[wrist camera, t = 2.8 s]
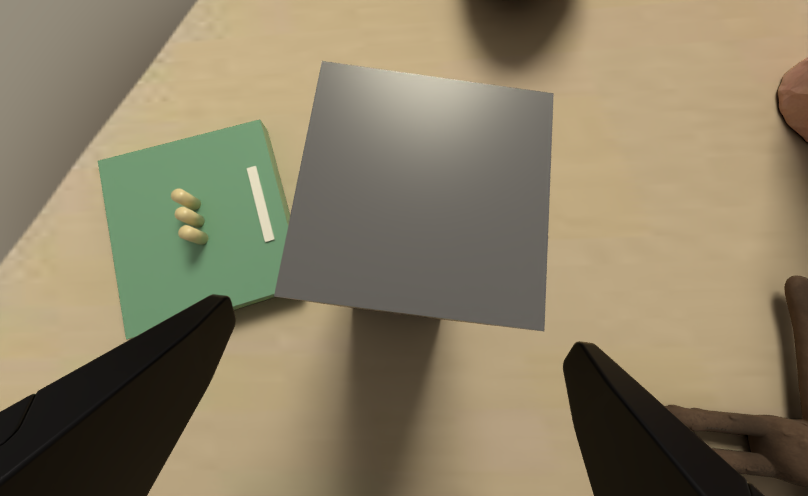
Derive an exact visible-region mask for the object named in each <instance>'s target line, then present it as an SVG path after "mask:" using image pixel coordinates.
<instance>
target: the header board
mask: <svg viewBox="0 0 808 496" xmlns="http://www.w3.org/2000/svg"><path fill="white" fill-rule="evenodd" d="M98 166H99V172H100V178H101V184H102V191H103V197H104V203H105V210H106V216H107V222H108V228H109V235H110V241H111V247H112V254H113V260H114V266H115V272H116V279H117V285H118V291H119V298H120V304H121V310H122V316H123V323H124V329H125V335H126V339H132V338H134V337H136V336H137V335H139V334H141V333H143V332H145V331H146V330H148V329H150V328H152V327H154V326H155V325H157V324H159V323H161V322H163V321H164V320H166V319H168V318H170V317H172V316H173V315H175V314H177V313H179V312H181V311H182V310H184V309H186V308H188V307H190V306H191V305H193V304H195V303H197V302H198V301H200V300H202V299H204V298H206V297H207V296H209V295H212V294H218V295H226V296H229V297H230V298H231V301H232V305H233V309H234V310H235V309H238V308H241V307H245V306H248V305H251V304H254V303H258V302H261V301H264V300H267V299H270V298H274V293H275V288H276V283H277V279H278V274H279V269H280V264H281V259H282V254H283V249H284V244H285V239H286V235H287V230H288V225H289V220H290V213H289V209H288V205H287V202H286V198H285V194H284V190H283V187H282V183H281V179H280V175H279V172H278V168H277V164H276V160H275V157H274V153H273V149H272V145H271V142H270V138H269V134H268V131H267V129H266V128H265V126H264V125H263V123H262V122H261V120H256V121H252V122H248V123H244V124H240V125H236V126H232V127H229V128H225V129H221V130H217V131H213V132H209V133H205V134H201V135H197V136H193V137H189V138H185V139H182V140H178V141H174V142H170V143H166V144H162V145H158V146H154V147H150V148H146V149H142V150H138V151H134V152H131V153H127V154H123V155H119V156H115V157H111V158H107V159H103V160H99V161H98Z"/></svg>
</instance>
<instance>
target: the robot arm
mask: <svg viewBox="0 0 808 496" xmlns="http://www.w3.org/2000/svg"><path fill="white" fill-rule="evenodd" d="M235 322H236V318H235V314H234V309H233V305H232V301H231V298H230V297H229V296H226V295H218V294H212V295H209V296H207V297H206V298H204V299H202V300H200V301H198V302H197V303H195V304H193V305H191V306H190V307H188V308H186V309H184V310H182V311H181V312H179V313H177V314H175V315H173V316H172V317H170V318H168V319H166V320H164V321H163V322H161V323H159V324H157V325H155V326H154V327H152V328H150V329H148V330H146V331H145V332H143V333H141V334H139V335H137V336H136V337H134V338H132V339H130V340H129V341H127V342H125V343H123V344H121V345H120V346H118V347H116V348H114V349H112V350H111V351H109V352H107V353H105V354H103V355H102V356H100V357H98V358H96V359H94V360H93V361H91V362H89V363H87V364H85V365H84V366H82V367H80V368H78V369H76V370H75V371H73V372H71V373H69V374H68V375H66V376H64V377H62V378H60V379H59V380H57V381H55V382H53V383H51V384H50V385H48V386H46V387H44V388H42V389H41V390H39V391H38V392H37V393H36V394H31V395H30V396H28V397H26V398H24V399H22V400H21V401H19V402H17V403H15V404H13V405H12V406H10V407H8V408H6V409H4V410H3V411H1V412H0V496H147V495H148V493H149V491H150V489H151V488H152V486H153V484H154V482H155V480H156V479H157V477H158V475H159V473H160V472H161V470H162V468H163V466H164V464H165V463H166V461H167V459H168V457H169V456H170V454H171V452H172V450H173V448H174V447H175V445H176V443H177V441H178V439H179V438H180V436H181V434H182V432H183V431H184V429H185V427H186V425H187V423H188V422H189V420H190V418H191V416H192V415H193V413H194V411H195V409H196V407H197V406H198V404H199V402H200V400H201V399H202V397H203V395H204V393H205V391H206V389H207V388H208V386H209V384H210V382H211V380H212V378H213V375H214V373H215V371H216V369H217V366H218V364H219V362H220V359H221V357H222V355H223V352H224V350H225V348H226V345H227V343H228V341H229V338H230V336H231V334H232V331H233V329H234V326H235ZM563 372H564V377H565V383H566V388H567V393H568V399H569V404H570V409H571V415H572V420H573V424H574V429H575V432H576V436H577V440H578V443H579V446H580V450H581V453H582V457H583V460H584V463H585V467H586V470H587V474H588V477H589V480H590V484H591V487H592V491H593V494H594V496H764V495H763V494H762V493H761V492H760V491H759V490H758V489H757V488H756V487H754V486H753V485H752V484H751V483H747V480H746V479H745V478H744V477H743V476H742V475H741V474H740V473H739V472H737V471H736V470H735V469H734V468H733V467H732V466H731V465H730V464H729V463H727V462H726V461H725V460H724V459H723V458H722V457H721V456H720V455H718V454H717V453H716V452H715V451H714V450H713V449H712V448H711V447H709V446H708V445H707V444H706V443H705V442H704V441H703V440H702V439H701V438H699V437H698V436H697V435H696V434H695V433H694V432H693V431H692V430H690V429H689V428H688V427H687V426H686V425H685V424H684V423H683V422H681V421H680V420H679V419H678V418H677V417H676V416H675V415H674V414H673V413H671V412H670V411H669V410H668V409H667V408H666V407H665V406H664V405H662V404H661V403H660V402H659V401H658V400H657V399H656V398H655V397H654V396H652V395H651V394H650V393H649V392H648V391H647V390H646V389H645V388H643V387H642V386H641V385H640V384H639V383H638V382H637V381H636V380H634V379H633V378H632V377H631V376H630V375H629V374H628V373H627V372H626V371H624V370H623V369H622V368H621V367H620V366H619V365H618V364H617V363H615V362H614V361H613V360H612V359H611V358H610V357H609V356H608V355H607V354H605V353H604V352H603V351H602V350H601V349H600V348H599V347H598V346H596V345H595V344H593V343H588V342H580V341H579V342H576V343H575V344H574V345H573V347H572V348H571V350H570V352H569V353H568V355H567V357H566V358H565V360H564V363H563Z"/></svg>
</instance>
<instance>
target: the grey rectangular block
mask: <svg viewBox="0 0 808 496" xmlns="http://www.w3.org/2000/svg"><path fill="white" fill-rule="evenodd" d="M552 119H553V93H547V92H540V91H533V90H526V89H518V88H511V87H504V86H497V85H490V84H483V83H476V82H468V81H461V80H454V79H447V78H440V77H433V76H426V75H418V74H411V73H404V72H397V71H390V70H383V69H376V68H368V67H361V66H354V65H347V64H340V63H333V62H326V61H322V64H321V68H320V73H319V78H318V83H317V88H316V93H315V98H314V103H313V108H312V112H311V117H310V122H309V127H308V132H307V137H306V142H305V147H304V151H303V156H302V161H301V166H300V171H299V176H298V181H297V186H296V191H295V195H294V200H293V205H292V210H291V215H290V220H289V225H288V230H287V235H286V239H285V244H284V249H283V254H282V259H281V264H280V269H279V274H278V279H277V283H276V288H275V293H274V297H281V298H288V299H295V300H302V301H309V302H316V303H323V304H329V305H336V306H343V307H350V308H358V309H365V310H373V311H381V312H389V313H396V314H404V315H412V316H420V317H427V318H435V319H443V320H452V321H460V322H469V323H477V324H486V325H494V326H503V327H511V328H520V329H528V330H537V331H544V325H545V299H546V274H547V248H548V222H549V196H550V170H551V145H552Z"/></svg>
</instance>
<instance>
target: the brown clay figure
mask: <svg viewBox="0 0 808 496" xmlns="http://www.w3.org/2000/svg"><path fill="white" fill-rule="evenodd" d="M785 296H786V301H787V305H788V309H789V314H790V318H791V322H792V326H793V331H794V339H795V348H796V359H797V370H798V381H799V391H800V401H801V408H802V415H803V418H802V419H797V420H793V419H787V418H783V417H778V416H772V415H748V414H738V413H728V412H718V411H708V410H702V409H699V408H691V409H688V408H683V407H680V406H676V405H668V406H665V407H666V408H667V409H668V410H669V411H670V412H671V413H673V414H674V415H675V416H676V417H677V418H678V419H679V420H680V421H681V422H683V423H684V424H685V425H686V426H687V427H688V428H689V429H690V430H693V431H713V432H722V433H732V434H742V435H748V440H749V446H750V450H751V452H752V453H751V452H742V451H733V450H724V449H715V448H712V449H713V450H714V451H715V452H716V453H717V454H718V455H720V456H721V457H722V458H723V459H724V460H725V461H726V462H727V463H729V464H730V465H731V466H732V467H733V468H734V469H735V470H736V471H737V472H739V473H740V474H749V475H758V476H767V477H774V478H777V479H780V480H783V481H786V482H790V483H793V484H796V485H800V486H805V487H808V279H807V278H805V277H802V276H792V277H790V278H788V279H787V281H786V283H785Z"/></svg>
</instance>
